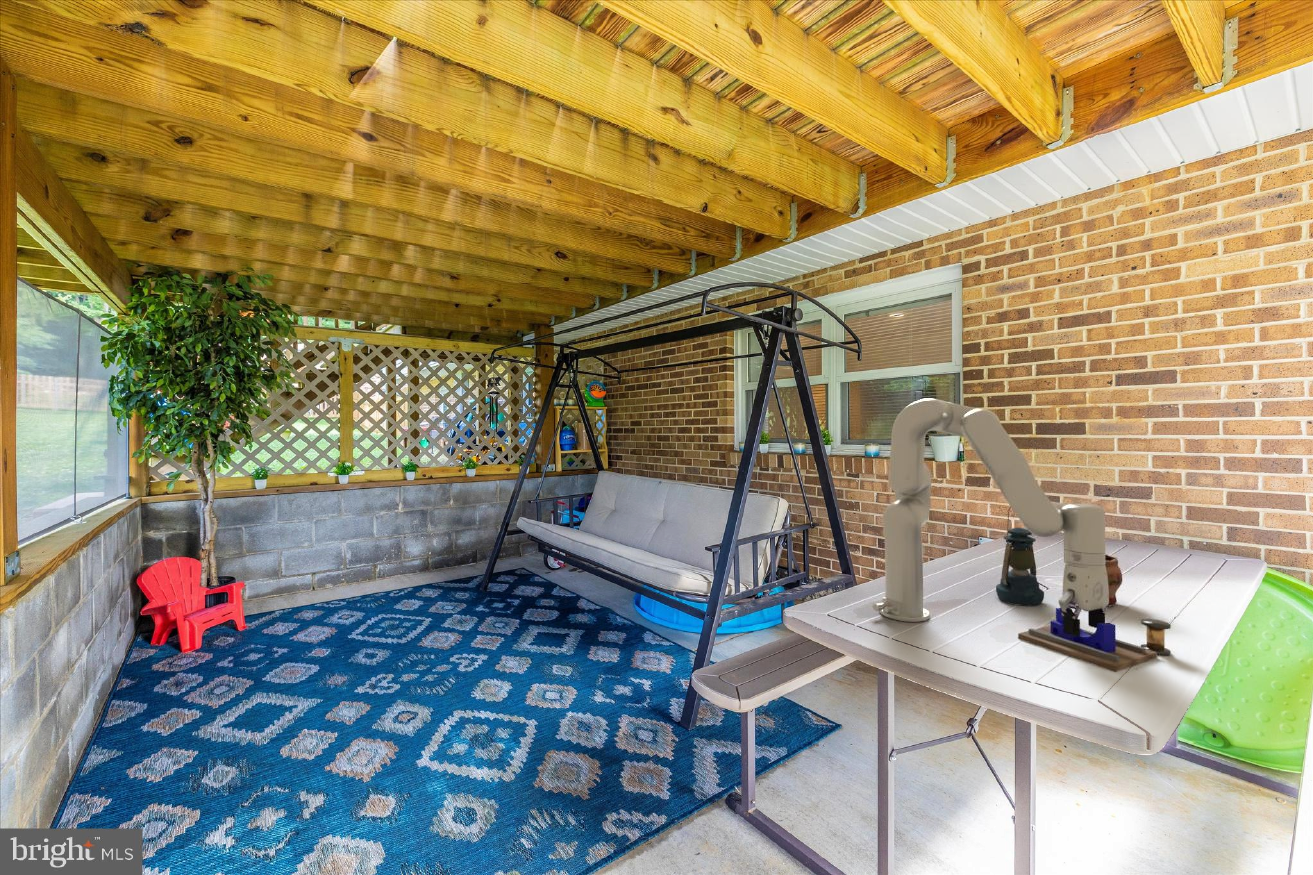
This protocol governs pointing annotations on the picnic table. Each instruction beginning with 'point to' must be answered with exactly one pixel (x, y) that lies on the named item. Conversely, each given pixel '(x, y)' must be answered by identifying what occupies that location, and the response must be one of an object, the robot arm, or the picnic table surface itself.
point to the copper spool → (1156, 636)
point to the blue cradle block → (1099, 640)
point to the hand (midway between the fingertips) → (1084, 631)
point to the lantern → (1019, 570)
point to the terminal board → (1090, 650)
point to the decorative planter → (1113, 577)
